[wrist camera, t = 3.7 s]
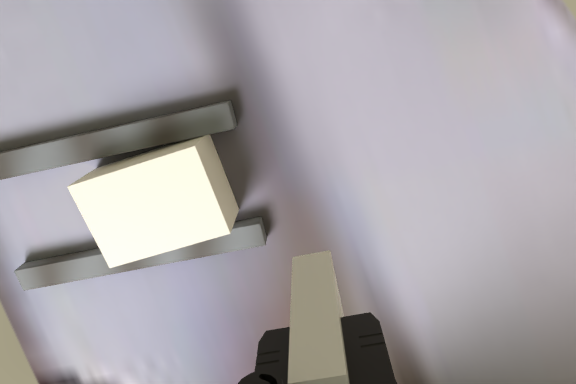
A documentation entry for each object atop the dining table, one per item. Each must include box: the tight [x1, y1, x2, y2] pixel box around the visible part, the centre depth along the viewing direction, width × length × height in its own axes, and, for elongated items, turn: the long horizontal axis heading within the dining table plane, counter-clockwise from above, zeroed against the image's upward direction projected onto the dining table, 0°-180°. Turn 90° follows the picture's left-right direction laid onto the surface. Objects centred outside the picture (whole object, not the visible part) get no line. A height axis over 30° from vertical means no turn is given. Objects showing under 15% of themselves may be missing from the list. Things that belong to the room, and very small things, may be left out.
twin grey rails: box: [0, 100, 267, 291], centre depth 36 cm, size 22×12×2 cm, turn 102°
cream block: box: [68, 134, 239, 268], centre depth 34 cm, size 10×7×5 cm
